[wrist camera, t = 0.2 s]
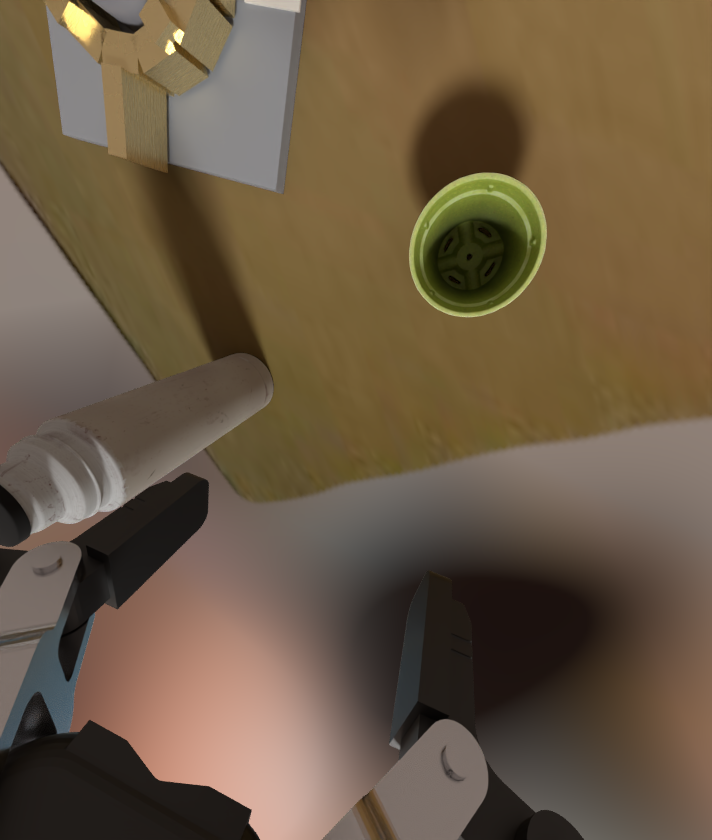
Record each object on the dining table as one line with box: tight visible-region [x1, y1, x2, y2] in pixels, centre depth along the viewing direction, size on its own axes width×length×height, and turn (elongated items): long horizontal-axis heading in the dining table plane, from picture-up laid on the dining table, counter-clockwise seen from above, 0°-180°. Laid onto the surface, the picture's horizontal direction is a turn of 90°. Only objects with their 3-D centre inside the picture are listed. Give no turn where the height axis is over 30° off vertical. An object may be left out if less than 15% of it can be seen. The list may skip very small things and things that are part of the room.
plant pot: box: [409, 173, 547, 317], centre depth 28 cm, size 9×9×9 cm
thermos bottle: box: [0, 353, 273, 547], centre depth 32 cm, size 8×8×28 cm
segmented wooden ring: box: [44, 0, 236, 173], centre depth 27 cm, size 22×16×5 cm
